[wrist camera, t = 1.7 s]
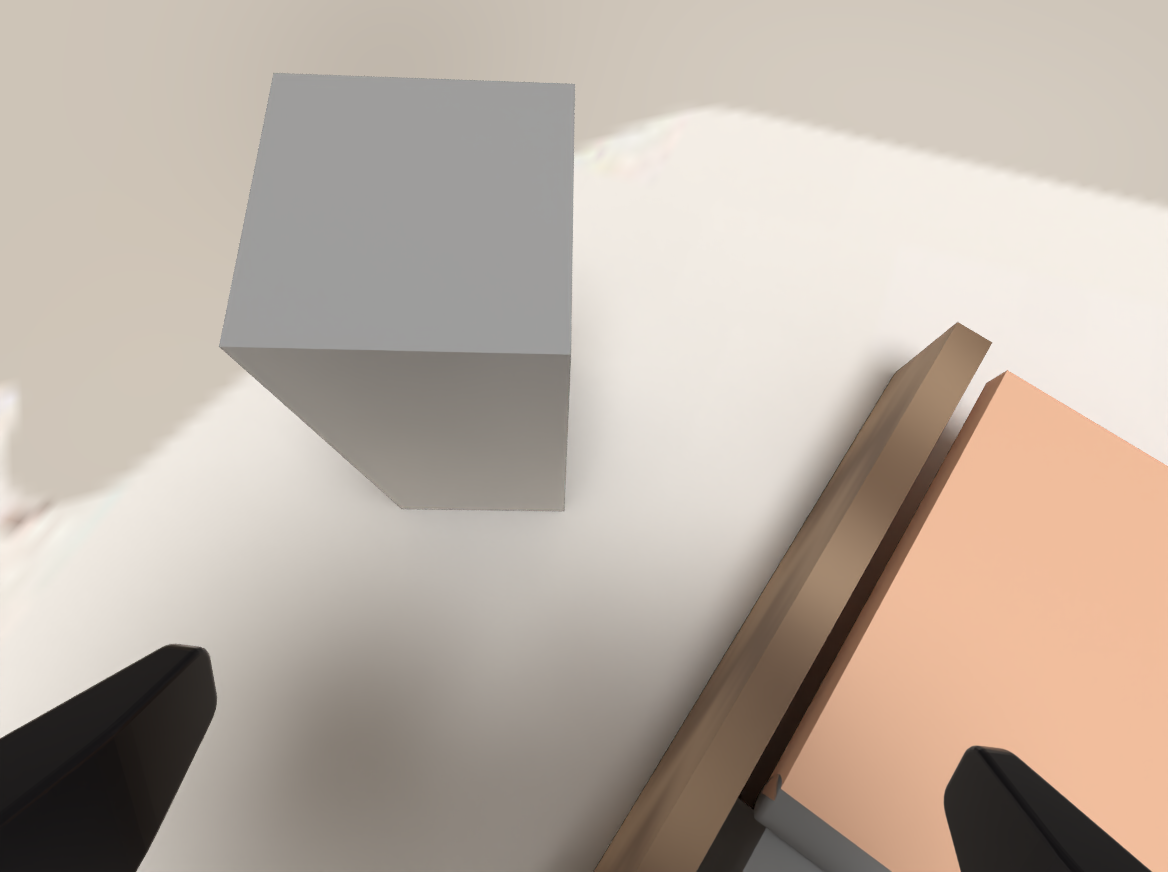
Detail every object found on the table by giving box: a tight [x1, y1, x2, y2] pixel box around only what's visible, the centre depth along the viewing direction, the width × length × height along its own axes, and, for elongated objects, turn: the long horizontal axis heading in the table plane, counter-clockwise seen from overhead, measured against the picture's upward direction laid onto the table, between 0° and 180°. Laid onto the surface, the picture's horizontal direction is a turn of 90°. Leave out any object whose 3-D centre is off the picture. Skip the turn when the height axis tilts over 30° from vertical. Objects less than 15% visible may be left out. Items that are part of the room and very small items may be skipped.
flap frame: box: [594, 322, 992, 872], centre depth 18 cm, size 25×18×4 cm
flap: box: [696, 370, 1168, 872], centre depth 18 cm, size 20×14×4 cm
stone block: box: [219, 73, 575, 511], centre depth 17 cm, size 6×6×12 cm
